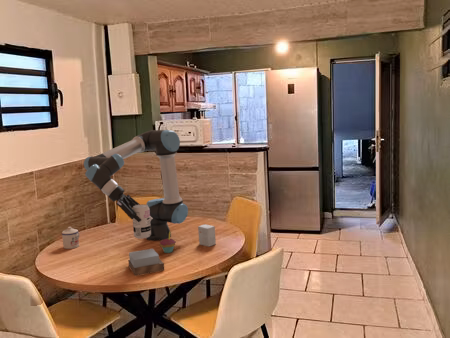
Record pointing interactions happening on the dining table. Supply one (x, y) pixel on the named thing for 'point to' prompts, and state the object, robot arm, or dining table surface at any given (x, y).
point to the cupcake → (167, 244)
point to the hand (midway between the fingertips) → (148, 222)
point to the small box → (206, 235)
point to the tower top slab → (143, 258)
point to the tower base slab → (146, 268)
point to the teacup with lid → (70, 238)
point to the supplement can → (138, 229)
